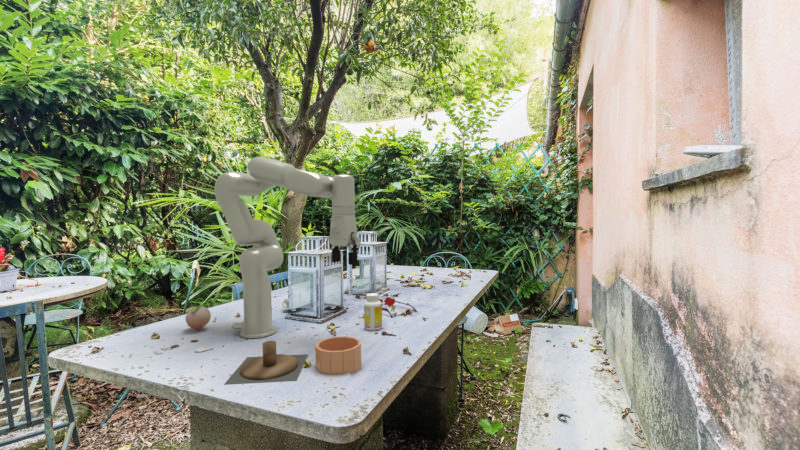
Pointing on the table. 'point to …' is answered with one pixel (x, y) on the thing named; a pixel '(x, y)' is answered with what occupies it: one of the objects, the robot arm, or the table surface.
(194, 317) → the decorative fruit
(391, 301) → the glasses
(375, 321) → the supplement bottle
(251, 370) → the lid
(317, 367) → the bowl
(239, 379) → the mat
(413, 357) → the table surface
